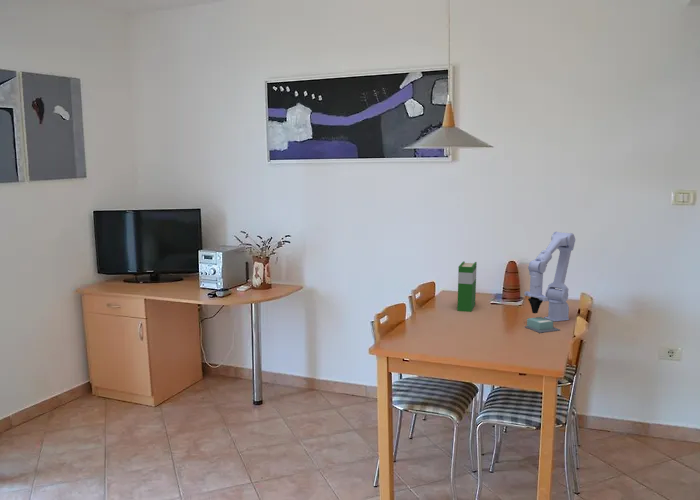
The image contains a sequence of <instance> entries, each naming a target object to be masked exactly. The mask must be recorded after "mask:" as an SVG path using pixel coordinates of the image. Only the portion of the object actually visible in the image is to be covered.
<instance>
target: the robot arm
mask: <svg viewBox="0 0 700 500" xmlns="http://www.w3.org/2000/svg"><path fill="white" fill-rule="evenodd" d="M575 243H576V237H575V234H574V233H573V232H562V231H561V232H560V231H554V232H553V233H552V235H551V238H550V242H549V244H548V246H547V247H546V248H545V249H543V250H541V252H540V253H539V254H538V255H537V256H536V258H535V259H533V260H531V261H530V262H529V263H528V268H527V269H528V271H529V272H528V273H529V274H528V275H529V276H530V278H529V279H530V281H529V291H524V296H527V297H530V298H527V300H528V303H529V305H530V308H531V313H532V314H538V312H539V309H540V307H541V305H542V303H543V302H548V313H547V314H548V316H544V317H543V318H545V319H548V320H551V321H553V322H561V321H563V322H564V321H568V320H569V321H570V318H569V309H570V306H569V304H568V302H567V301H568V299H569V288H568V286H567V285H566V284H565V282H566V278H567V273H568V267H569V263H570V258H571V253H572V251H574V247H575ZM556 250H559V255H558V259H557V263H556V269H555V274H554V278H553V282H551V283H549V284H548V285H547V288H546V291H545V293H544V294H543V283H544V273H545V272H546V270H547V266H548V264H549V262H550V261H551V260H552V259H553V253H554V252H555V251H556Z"/></svg>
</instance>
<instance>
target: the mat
mask: <svg viewBox="0 0 700 500" xmlns="http://www.w3.org/2000/svg"><path fill="white" fill-rule="evenodd" d="M524 328H526V329H527V330H531V331H532V332H533V331H534V332H535V333H538V334H543V333H551V332H558V331H559V332H560V331H561V329H560V328H557V327H554V326H553V329H546V330H537V329H535V328H532V327H529V326H527V325H525V326H524Z"/></svg>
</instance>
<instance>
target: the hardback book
mask: <svg viewBox="0 0 700 500" xmlns="http://www.w3.org/2000/svg"><path fill="white" fill-rule="evenodd" d="M457 278H458V280H457V306H456V309H457V312H464V313H465V312H467V313H472V312H473V310H474V309H475V306H476V296H477V295H476V293H477V292H476V290H477V261H474V263H473V262H472V263H471V262H465V261H462V262H461V263H460V264H459V266H458V274H457Z"/></svg>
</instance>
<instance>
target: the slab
mask: <svg viewBox="0 0 700 500" xmlns="http://www.w3.org/2000/svg"><path fill="white" fill-rule="evenodd" d="M526 326H529V327H532V328H535V329H537V330H546V329H553V327H554V321H552V320H549V319H546V318H544V317H542V316H538V317H530V318H527V319H526Z"/></svg>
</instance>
